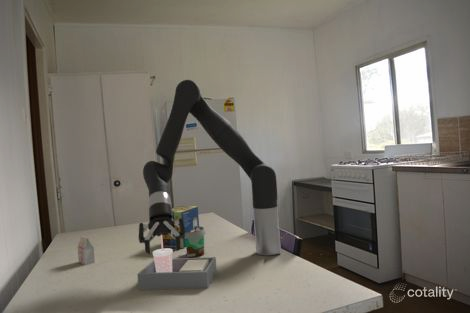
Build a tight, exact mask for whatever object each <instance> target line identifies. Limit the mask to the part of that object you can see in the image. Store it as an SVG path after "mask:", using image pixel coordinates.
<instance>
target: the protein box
mask: <svg viewBox="0 0 470 313" xmlns="http://www.w3.org/2000/svg"><path fill="white" fill-rule="evenodd" d="M172 216H173V220H174V221H178V220H179V219H180V218H181V219H183V224H184V229H185V233H189V231H190V230H193V229H194V226H200V222H199V221H200V219H199V206H197V205H196V206H193V205H191V206H190V205H189V206H188V205H185V206H184V205H180V206H175V207H172ZM173 228H174V229H175V230H176V231H177V232H178V233H181V232H180V227H179V228H178V227H177V225H175V226H174V227H173ZM162 239H163V248H170V249H176V242H175V238H174V237H172V236H170V235H169V234H167V235H162ZM180 245H181V247H180V249H185V248H186V240H185V238H181V239H180Z"/></svg>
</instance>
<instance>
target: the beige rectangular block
mask: <svg viewBox="0 0 470 313" xmlns="http://www.w3.org/2000/svg"><path fill="white" fill-rule="evenodd" d="M208 265H209V261H208V259H205V260H188V261H187V262H186V263H185V264H184V266H183V267H182V268H181V269H180V270H179V272H194V271H205V270H206V268H207V266H208Z"/></svg>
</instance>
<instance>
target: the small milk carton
mask: <svg viewBox="0 0 470 313" xmlns="http://www.w3.org/2000/svg"><path fill="white" fill-rule="evenodd" d="M77 254H78V255H77V256H78V257H77V258H78V262H79V263H80V264H82V265H84V266H87V265H92V264H95V263H96V261H95V248H94V245H92V242H91V241H90V239H89V238H88V237H87V236H84V235H81V236H80V240H79V242H78V245H77Z"/></svg>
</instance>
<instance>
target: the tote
mask: <svg viewBox="0 0 470 313" xmlns="http://www.w3.org/2000/svg"><path fill="white" fill-rule="evenodd" d="M205 259H208V261H209V265H208V266H207V268H206V270H205V271H194V272H179V270H180V269H181V268H182V267H183V266H184V264H185V263H186V262H187V261H188V260H205ZM217 272H218V270H217V258H216V256H213V257H212V256H211V257H209V256H207V257H197V258H187V257H184V258H183V257H182V258H181V257H179V258H172V272H159V273H156V268H155V261H154V259H152V261H150V263H148V264H147V265H146V266H145V267H143V269H142V270H140V271H139V272H138V273H136V274H137V275H136V276H137V288H138V291H139V290H177V289H178V290H179V289H181V290H182V289H184V290H185V289H187V290H189V289H209V287H210V285H211V283H212V281H213V279H214V277H215V275H216V273H217Z"/></svg>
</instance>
